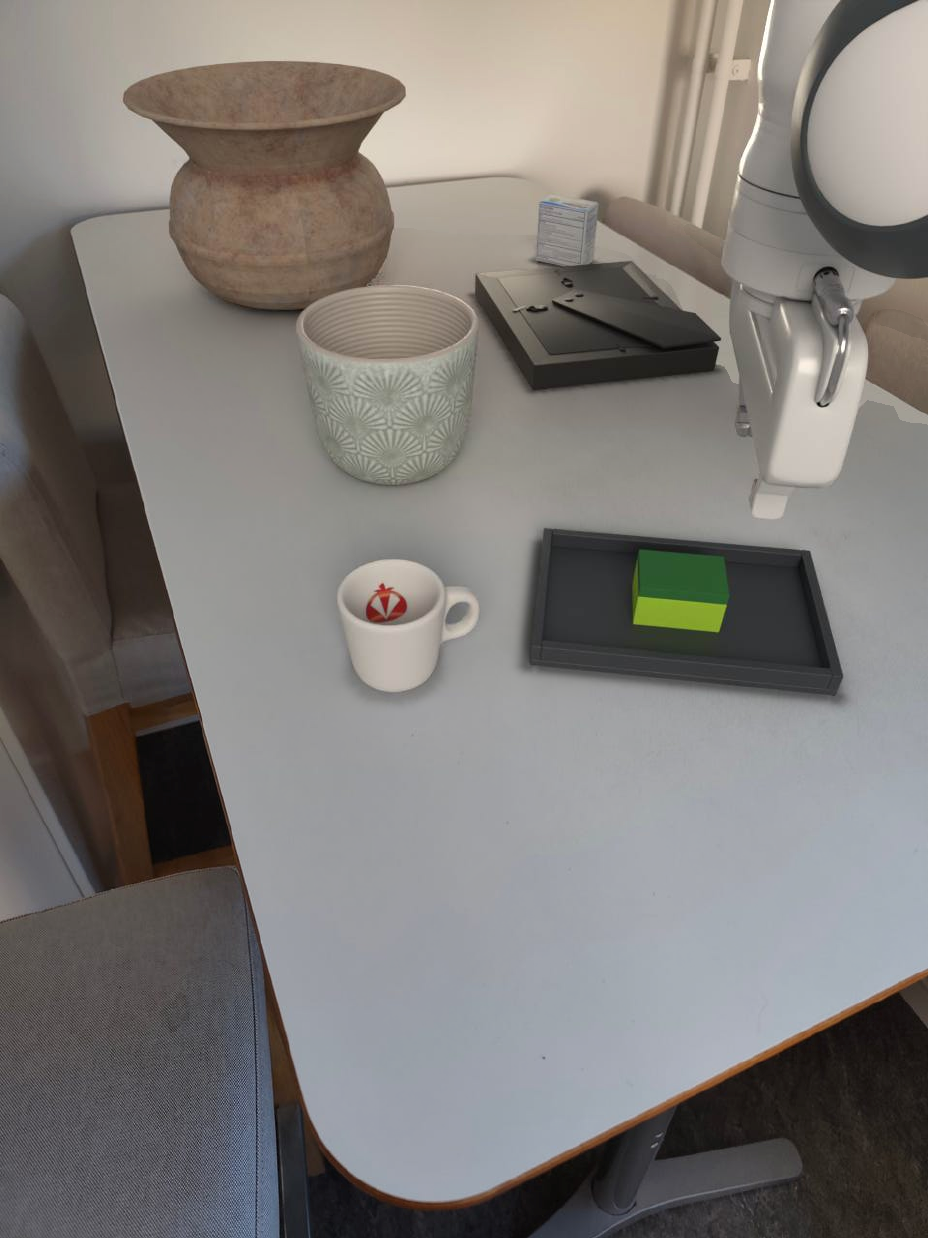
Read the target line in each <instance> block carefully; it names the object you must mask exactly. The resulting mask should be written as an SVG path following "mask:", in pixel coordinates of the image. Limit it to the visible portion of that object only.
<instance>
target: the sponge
mask: <svg viewBox="0 0 928 1238" xmlns="http://www.w3.org/2000/svg"><path fill="white" fill-rule="evenodd" d="M632 599H633V624H638V625H648V626H659V627H669V628H679V629H690V630H700V631H711V632H719V630H720V627H721V623H722V620H723V616H724V613H725V610H726V606H727V602H728V599H729V589H728V582H727V575H726V568H725V561H724V557H720V556H708V555H697V554H686V553H675V552H663V551H652V550H641V549H639V552H638V557H637V563H636V568H635V573H634V579H633V584H632Z"/></svg>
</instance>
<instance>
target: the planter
mask: <svg viewBox="0 0 928 1238" xmlns="http://www.w3.org/2000/svg"><path fill="white" fill-rule="evenodd" d="M479 331H480V321H479V317H478V315H477V314H476V312H475V310H474V309H473V308H472V307H471V306H470V305H469V304H468V303H466V302H465V301H463V300H462V299H460V298H458V297H456V296H455V295H452V294H449V293H447V292H444V291H440V290H437V289H432V288H427V287H421V286H414V285H404V284H402V285H401V284H377V285H368V286H367V285H366V286H365V287H359V288H353V289H348V290H344V291H340V292H337V293H334V294H331V295H328V296H326V297H323V298H321V299H319V300H317V301H315V302H314V303H312V304H311V305H309V306H308V307H307V308H306V309H302V311H301V312H300V314H299V315H298V317H297V319H296V321H295V333H296V339H297V341H298V342H297V344H298V347H299V352H300V358H301V362H302V368H303V373H304V378H305V383H306V387H307V392H308V397H309V402H310V409H311V414H312V417H313V422H314V427H315V430H316V433H317V435H318V439H319V441H320V443H321V445H322V447H323V449H324V450H325V452H326V454H327V455H328V456H329V458H330V460H331V461H332V462H333V463H334V464H336V465H337V467H339V468H340V469H341V470H343V471H344V472H345V473H347V474H349V475H350V476H351V477H353V478H356V479H358V480H360V481H364V482H367V483H371V484H376V485H384V486H402V485H410V484H413V483H418V482H421V481H424V480H427V479H429V478H432V477H433V476H436V475H437V474H439V473H440V472H441V471H443V470H444V469H446V467H448V465H450V463H451V462H453V460H454V459H456V457H457V456H458V453H459V452H460V451H461V449H462V446H463V444H464V442H465V440H466V437H467V433H468V430H469V426H470V421H471V413H472V404H473V403H472V402H473V393H474V392H473V391H474V382H475V373H476V372H475V371H476V363H477V362H476V361H477V353H478V343H479V342H478V341H479Z"/></svg>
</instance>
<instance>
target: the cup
mask: <svg viewBox="0 0 928 1238" xmlns="http://www.w3.org/2000/svg"><path fill="white" fill-rule="evenodd" d="M458 603H466V604H467V607H466V612H465V614H464V616H463V617H462V618H461V619H460V620H459V621H457V622H454V623H448V622H446V619H447V615H448V613H449V611H450V609H451V608H452V607H454V606H455V605H456V604H458ZM336 607H337V610H338V614H339V617H340V622H341V625H342V630H343V634H344V638H345V642H346V645H347V650H348V653H349V657H350V660H351V664H352V667H353V669H354V671H355V673H356V675H357V676H358V678H359V679H360V680H361V681H362V682H363V683H364V684H366V685H367V686H369V687H370V688H372V689H375V690H377V691H381V692H385V693H401V692H406V691H411V690H413V689H415V688H417V687H420V686H421V685H423V683H425V682H426V681H427V680H428V679H429V678H430V677H431V676H432V674H433V673H434V671H435V669H436V667H437V663H438V659H439V655H440V647H441V645H442V643H444V642H448V641H451V640H455V639H459V638H462V637H464V636H466V635H468V634H470V632H471V631H472V630H473V629H475V626H476V625H477V623H478V621H479V617H480V610H481V608H480V607H481V605H480V602H479V598H478V596H477V595H476V592H474V591H473V589H471V588H470V587H468V586H464V585H445V584H444V582H443V580H442V578H441V577H440V576H439V574H437V572H435V571H434V570H433V569H431V568H430V567H428V566H426V565H424V564H422V563H421V562H420V563H419V562H417V561H413V560H409V559H402V558H383V559H378V560H374V561H370V562H366V563H364V564H362V565H359V566H357V567H356V568H355V569H353V570H352V571H350V572H349V573H348V574H346V576H345V577H344V578H343V579H342V581H341V582H340V583H339V586H338V588H337V591H336Z"/></svg>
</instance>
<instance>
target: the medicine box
mask: <svg viewBox="0 0 928 1238" xmlns="http://www.w3.org/2000/svg"><path fill="white" fill-rule="evenodd" d="M599 207H600V205H599V203H598V202H596V201H591V200H587V199H581V198H576V197H570V196H564V195H558V194H550V195H548V196H547V197H544V198H543V199H542V200H541V201H539V202H538V209H537V210H538V213H537V227H536V229H537V230H536V244H535V245H536V247H535V261H536V262H541V263H546V264H550V265H554V266H559V267H562V266H575V265H587V264H592V262H593V261H594V257H595V244H596V235H597V226H598V225H597V224H598V214H599Z"/></svg>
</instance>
